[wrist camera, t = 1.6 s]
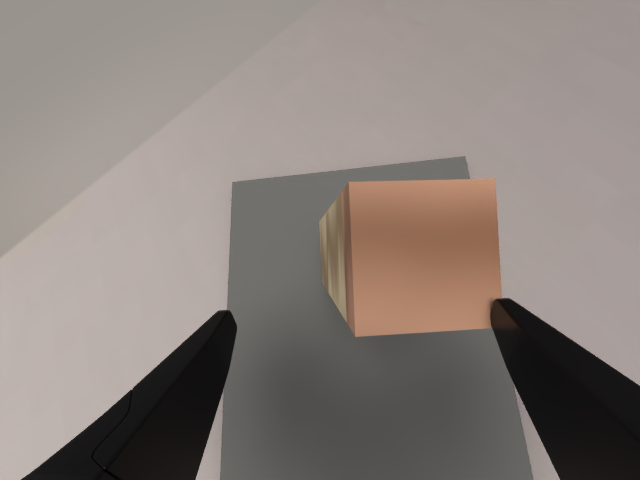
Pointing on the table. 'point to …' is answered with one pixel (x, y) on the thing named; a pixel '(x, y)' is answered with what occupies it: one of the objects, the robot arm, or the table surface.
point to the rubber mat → (349, 360)
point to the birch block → (412, 255)
